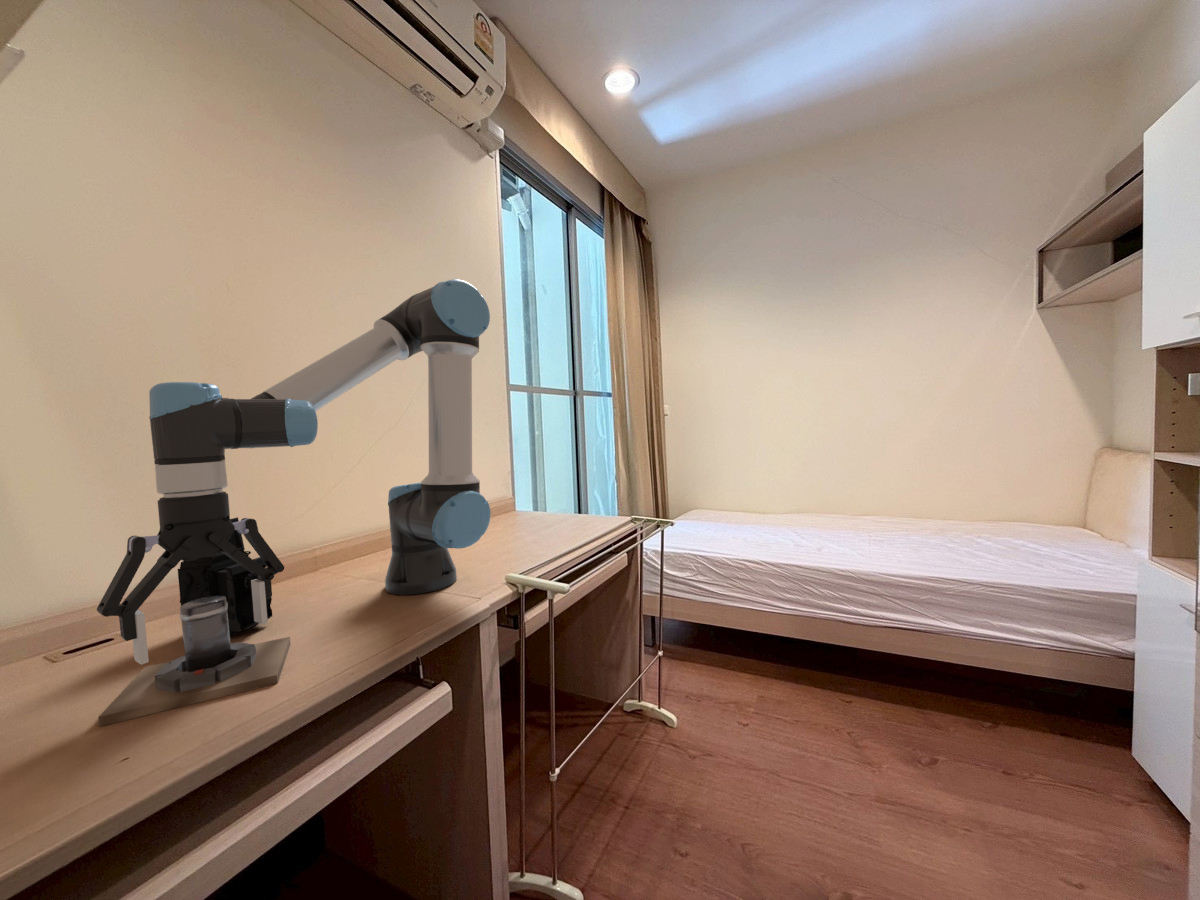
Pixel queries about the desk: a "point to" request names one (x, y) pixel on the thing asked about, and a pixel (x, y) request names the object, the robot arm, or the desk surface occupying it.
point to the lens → (205, 632)
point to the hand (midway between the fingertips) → (206, 640)
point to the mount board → (166, 701)
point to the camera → (223, 584)
